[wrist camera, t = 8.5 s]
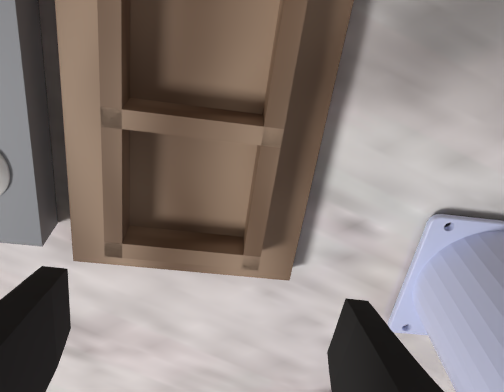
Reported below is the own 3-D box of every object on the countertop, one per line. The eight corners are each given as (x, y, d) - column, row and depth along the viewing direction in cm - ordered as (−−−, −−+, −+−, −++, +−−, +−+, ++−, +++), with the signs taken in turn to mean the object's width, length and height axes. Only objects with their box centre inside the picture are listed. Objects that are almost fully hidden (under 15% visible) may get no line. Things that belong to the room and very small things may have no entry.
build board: (425, -351, 13) (463, -411, 11) (287, 268, 24) (292, 300, 22) (36, -440, 12) (-8, -527, 10) (79, 249, 23) (62, 280, 21)
